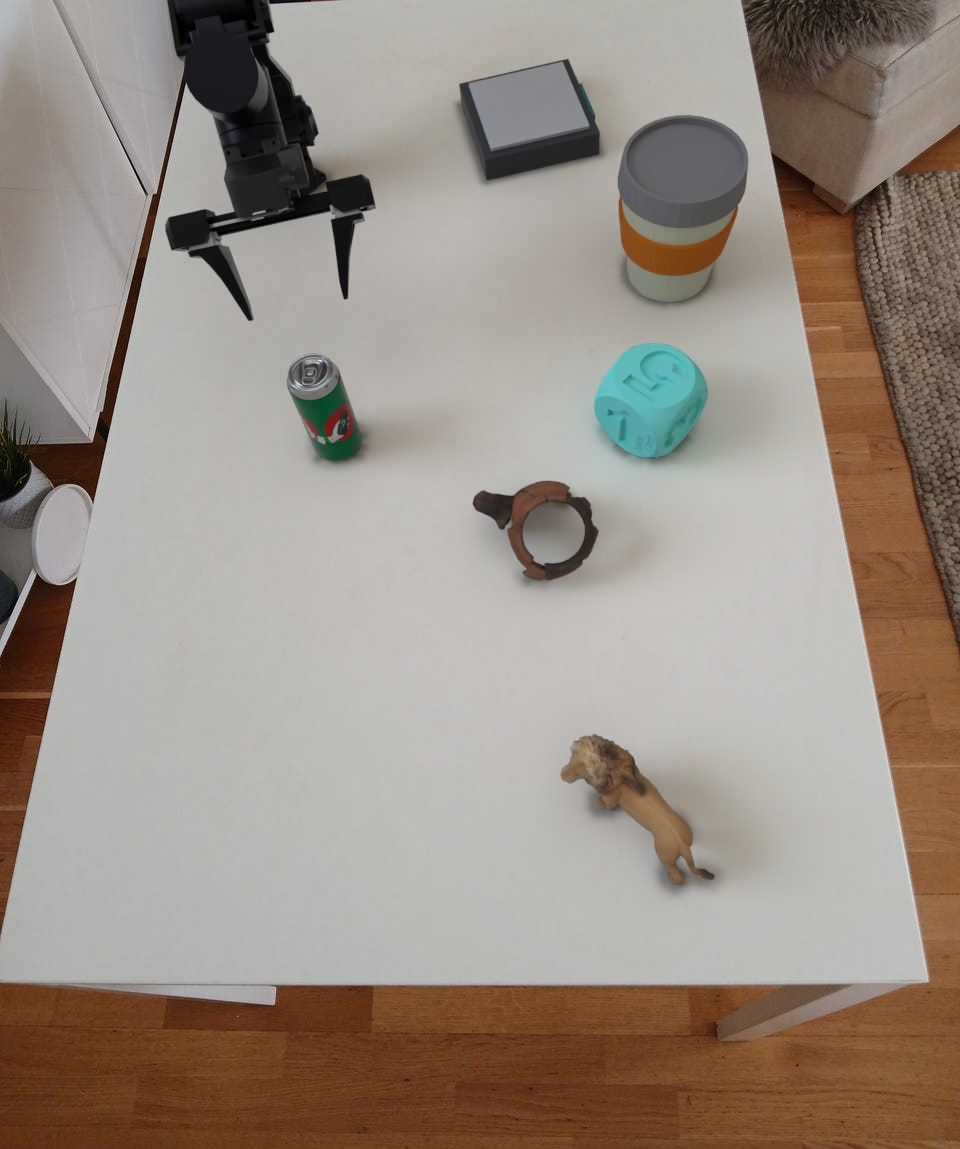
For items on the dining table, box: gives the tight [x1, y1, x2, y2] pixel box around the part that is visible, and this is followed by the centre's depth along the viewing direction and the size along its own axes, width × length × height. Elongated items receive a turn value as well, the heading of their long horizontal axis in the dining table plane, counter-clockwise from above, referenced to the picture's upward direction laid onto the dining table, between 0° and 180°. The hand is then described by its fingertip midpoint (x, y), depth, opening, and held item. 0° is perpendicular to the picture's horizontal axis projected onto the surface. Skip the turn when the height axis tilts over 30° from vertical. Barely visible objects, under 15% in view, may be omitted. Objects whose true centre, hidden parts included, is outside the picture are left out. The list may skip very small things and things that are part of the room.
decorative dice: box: [593, 342, 709, 458], centre depth 89 cm, size 8×8×8 cm
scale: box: [458, 58, 601, 181], centre depth 111 cm, size 15×14×4 cm
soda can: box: [286, 353, 363, 462], centre depth 89 cm, size 5×5×12 cm
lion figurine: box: [559, 733, 716, 885], centre depth 72 cm, size 15×5×9 cm, turn 50°
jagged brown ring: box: [472, 480, 600, 582], centre depth 86 cm, size 12×10×8 cm
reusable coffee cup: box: [617, 114, 749, 303], centre depth 94 cm, size 12×13×15 cm
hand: (298, 309), depth 86 cm, fingers open, 9 cm apart
